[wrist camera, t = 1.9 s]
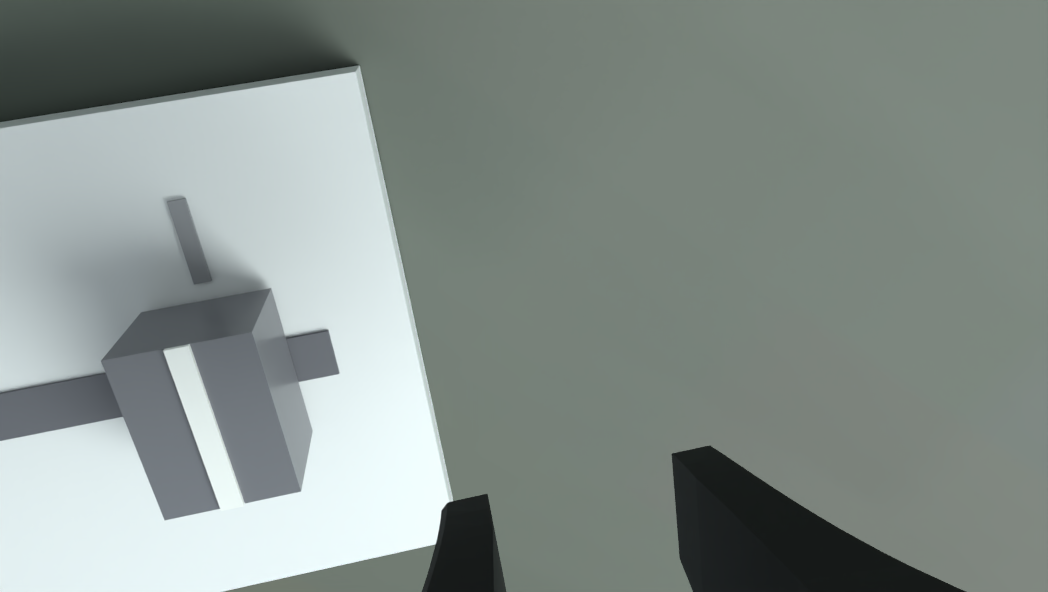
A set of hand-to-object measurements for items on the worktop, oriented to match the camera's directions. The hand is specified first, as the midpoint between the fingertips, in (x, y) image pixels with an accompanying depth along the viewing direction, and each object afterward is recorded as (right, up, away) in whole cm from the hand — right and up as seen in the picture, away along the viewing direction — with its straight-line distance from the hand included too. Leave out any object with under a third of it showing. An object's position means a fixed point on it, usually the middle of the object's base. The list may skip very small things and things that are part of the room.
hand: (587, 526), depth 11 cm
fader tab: (-8, +2, +7) cm, 11 cm away
